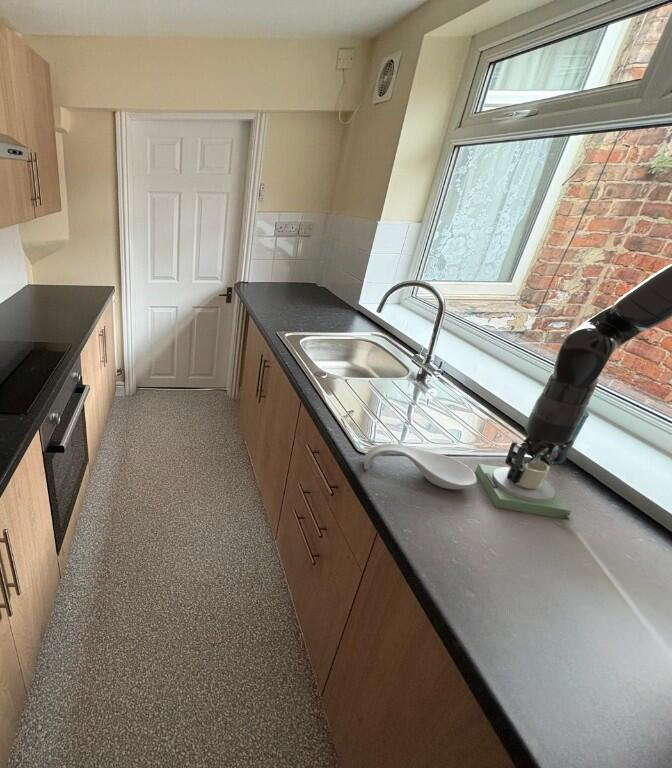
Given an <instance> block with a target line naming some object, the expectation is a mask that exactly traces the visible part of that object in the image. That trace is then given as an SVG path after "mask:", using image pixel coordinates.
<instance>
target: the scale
mask: <svg viewBox="0 0 672 768" xmlns="http://www.w3.org/2000/svg"><path fill="white" fill-rule="evenodd" d="M509 468H510V466H497V465H489V464H484V463H483V464H482V463H477V466H476V469H475V472H474V473H475V475H476V476H477V477H478V479H479V480H480V482H481V484H482V486H483V487H484V490H485V491H486V492H487V494H488V496H489V498H490V500H491V501H492V504H493V505H494V507H495V508H497V509H503V510H508V511H516V512H520V513H527V514H532V515H539V516H543V517H551V518H555V519H562V520H568V518H569V516H568V515H570V514H571V513H572V510H571V508H570V507H569V506H568V504H567V503H566V502H565V500H563V498H562V497H561V496H560V494H559V493H558V492H557V491H556V489H555V488H554V487H553V486H552V485H551V483H550V482H549V480H548V479H547V478H546V479H545V481H544V483H543V484H542V486H541V487H539V488H535V489H530V488H525V487H522V486H519V485H517V484H515V483H513V482H511V481H510V480H508V479H507V472H508V470H509Z"/></svg>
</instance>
